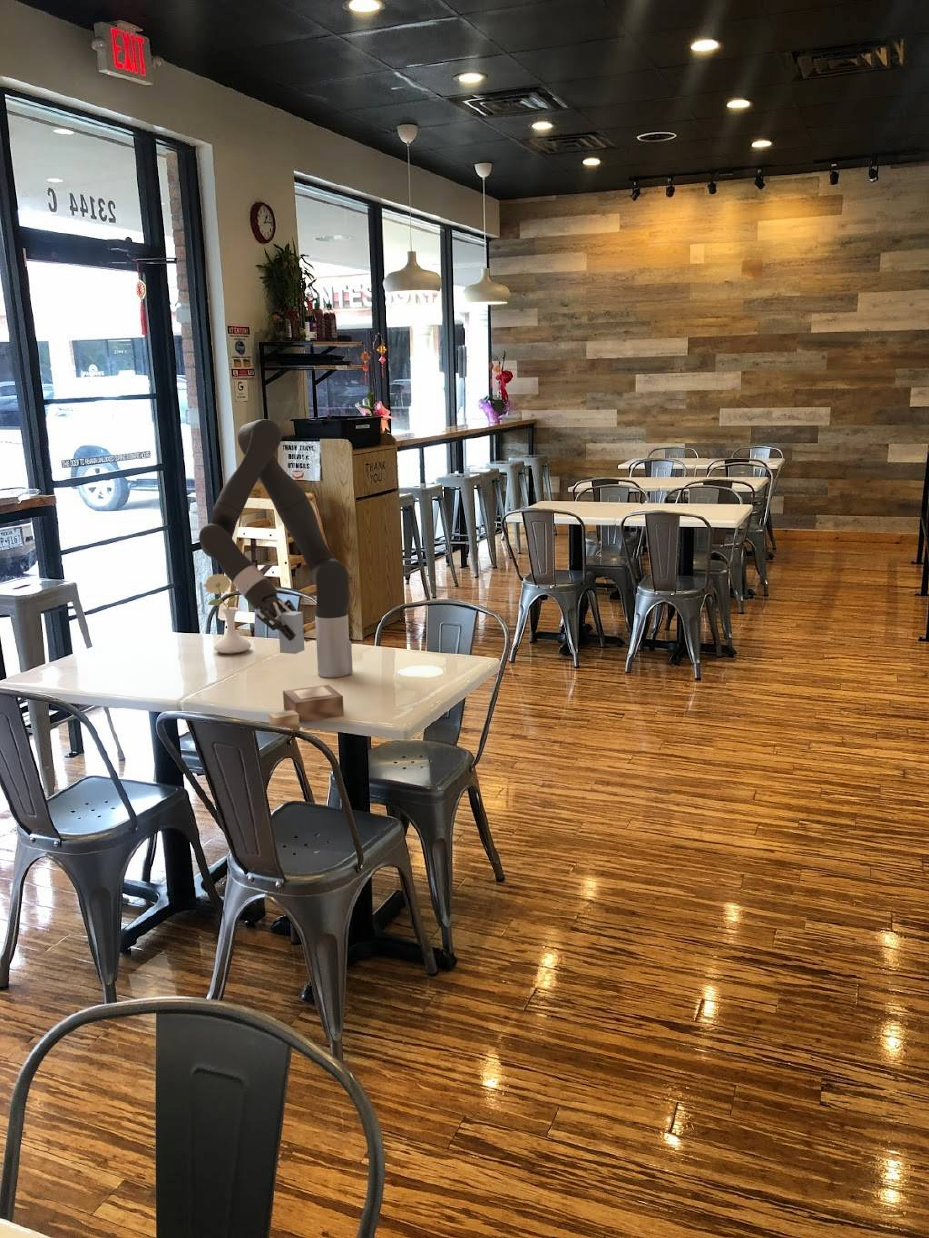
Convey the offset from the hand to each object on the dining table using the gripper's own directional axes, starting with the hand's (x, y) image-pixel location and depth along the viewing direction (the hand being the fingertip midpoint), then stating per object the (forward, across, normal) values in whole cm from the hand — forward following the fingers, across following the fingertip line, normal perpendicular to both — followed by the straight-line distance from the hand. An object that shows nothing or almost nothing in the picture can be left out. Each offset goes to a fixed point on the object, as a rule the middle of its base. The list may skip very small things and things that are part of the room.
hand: (298, 636), depth 267 cm
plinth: (+18, -6, +8) cm, 20 cm away
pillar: (+2, 0, +4) cm, 5 cm away
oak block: (+18, -20, +8) cm, 28 cm away
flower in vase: (-23, +44, +50) cm, 70 cm away
